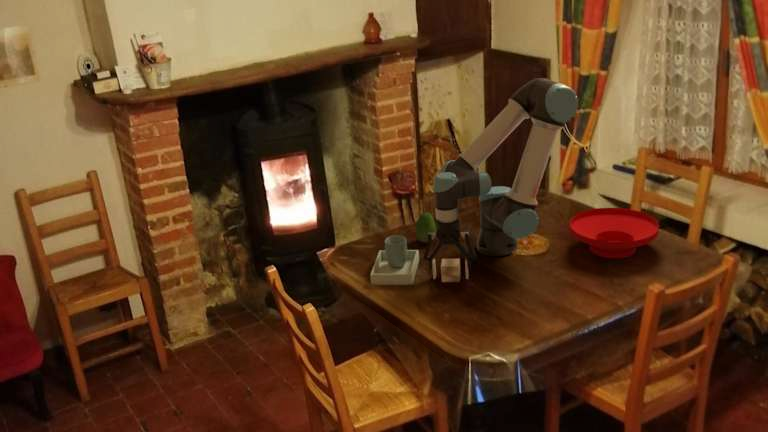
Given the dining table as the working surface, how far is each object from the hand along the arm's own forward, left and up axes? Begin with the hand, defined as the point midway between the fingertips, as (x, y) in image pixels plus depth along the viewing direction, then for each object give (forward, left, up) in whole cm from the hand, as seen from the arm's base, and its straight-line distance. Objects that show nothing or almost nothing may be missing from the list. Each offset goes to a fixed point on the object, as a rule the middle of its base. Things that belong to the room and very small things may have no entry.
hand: (451, 277), depth 282 cm
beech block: (0, 0, 0) cm, 0 cm away
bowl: (-56, -22, 0) cm, 60 cm away
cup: (+20, -8, 0) cm, 21 cm away
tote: (+20, -4, 0) cm, 20 cm away
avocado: (+12, -30, 0) cm, 32 cm away
